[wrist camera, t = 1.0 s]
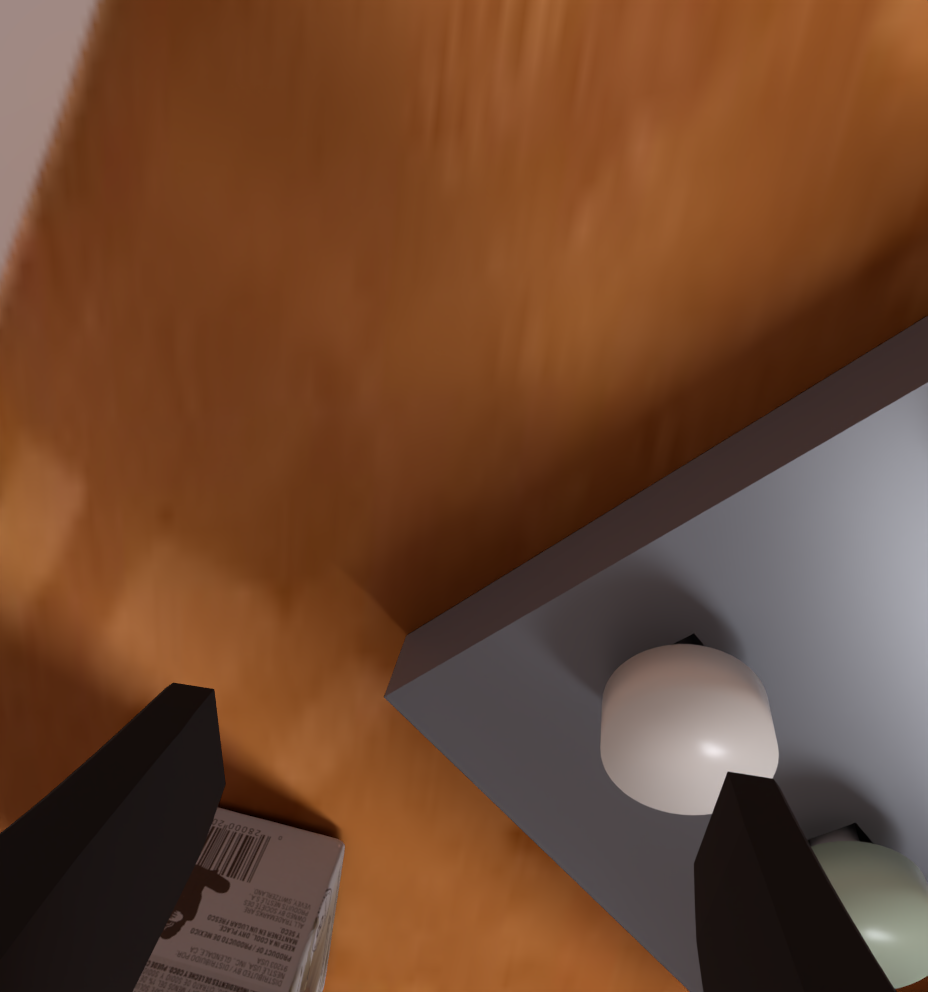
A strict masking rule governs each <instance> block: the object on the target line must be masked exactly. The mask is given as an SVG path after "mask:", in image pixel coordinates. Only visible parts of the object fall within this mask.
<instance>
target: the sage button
mask: <svg viewBox="0 0 928 992" xmlns="http://www.w3.org/2000/svg"><path fill="white" fill-rule="evenodd" d="M809 840H810V845H811V848H812V850H813V852H814V853H815V855H816V857H817V859H818V861H819V862H820V864H821V866H822V868H823V870H824V871H825V873H826V875H827V877H828V879H829V880H830V882H831V884H832V886H833V888H834V889H835V891H836V893H837V895H838V896H839V898H840V900H841V902H842V903H843V905H844V907H845V908H846V910H847V912H848V913H849V915H850V917H851V918H852V920H853V922H854V923H855V925H856V927H857V928H858V930H859V932H860V933H861V935H862V937H863V938H864V940H865V942H866V943H867V945H868V947H869V948H870V950H871V952H872V953H873V955H874V957H875V958H876V960H877V962H878V963H879V965H880V966H881V968H882V970H883V971H884V973H885V974H886V976H887V977H888V979H889V981H890V982H891V984H892V985H893V987H894V989H897V988H901V987H904V986H907V985H910V984H913V983H915V982H917V981H919V980H921V979H923V978H925V977H926V976H928V884H927V882H926V879H925V877H924V875H923V873H922V872H921V870H920V869H919V867H918V866H917V865H916V864H915V863H914V862H912V861H911V860H910V859H908V858H907V857H906V856H904V855H902V854H901V853H899V852H897V851H894V850H892V849H890V848H887V847H884V846H881V845H877V844H872V843H867V842H860V841H859V837H858V834H857V831H856V827H855V824H854V823H853V824H851V825H848V826H845V827H842V828H840V829H837V830H834V831H831V832H828V833H826V834H823V835H820V836H817V837H815V838H812V839H809Z"/></svg>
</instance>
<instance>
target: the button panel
mask: <svg viewBox="0 0 928 992" xmlns="http://www.w3.org/2000/svg"><path fill="white" fill-rule="evenodd" d="M692 634H695V635H696V636H697V637H698V639H699V640H700V641H701V642H702V643H703V644H704V646H706V647H710V648H714V649H717V650H720V651H723V652H725V653H727V654H729V655H732V656H733V657H735V658H737V659H738V660H740V661H742V662H743V663H744V664H745V665H747V666H748V667H749V668H750V669H751V670H752V671H753V672H754V673H755V674H756V675H757V677H758V678H759V679H760V681H761V682H762V684H763V686H764V688H765V690H766V694H767V697H768V701H769V706H770V711H771V716H772V720H773V725H774V730H775V734H776V739H777V744H778V751H779V759H778V765H777V769H776V772H775V774H774V776H773V778H772V779H774V780H775V781H776V783H777V784H778V785H779V787H780V788H781V790H782V792H783V794H784V796H785V798H786V800H787V802H788V804H789V806H790V808H791V810H792V812H793V814H794V816H795V818H796V820H797V821H798V823H799V825H800V827H801V829H802V831H803V833H804V835H805V837H806V838H807V840H808V842H809V844H810V840H809V839H812V838H815V837H817V836H820V835H823V834H826V833H828V832H831V831H834V830H837V829H840V828H842V827H845V826H848V825H851V824H853V823H854V824H855V827H856V831H857V834H858V837H859V841H860V842H867V843H872V844H877V845H881V846H884V847H887V848H890V849H892V850H894V851H897V852H899V853H901V854H902V855H904V856H906V857H907V858H908V859H910V860H911V861H912V862H914V863H915V864H916V865H917V866H918V867H919V869H920V870H921V872H922V873H923V875H924V877H925V879H926V882H927V884H928V316H927V317H925V318H923V319H922V320H920V321H918V322H917V323H915V324H913V325H912V326H910V327H909V328H907V329H905V330H904V331H902V332H900V333H899V334H897V335H896V336H894V337H892V338H891V339H889V340H887V341H886V342H884V343H883V344H881V345H879V346H878V347H876V348H874V349H873V350H871V351H869V352H868V353H866V354H865V355H863V356H861V357H860V358H858V359H856V360H855V361H853V362H852V363H850V364H848V365H847V366H845V367H843V368H842V369H840V370H839V371H837V372H835V373H834V374H832V375H830V376H829V377H827V378H825V379H824V380H822V381H821V382H819V383H817V384H816V385H814V386H812V387H811V388H809V389H808V390H806V391H804V392H803V393H801V394H799V395H798V396H796V397H795V398H793V399H791V400H790V401H788V402H786V403H785V404H783V405H782V406H780V407H778V408H777V409H775V410H773V411H772V412H770V413H768V414H767V415H765V416H764V417H762V418H760V419H759V420H757V421H755V422H754V423H752V424H751V425H749V426H747V427H746V428H744V429H742V430H741V431H739V432H738V433H736V434H734V435H733V436H731V437H729V438H728V439H726V440H724V441H723V442H721V443H720V444H718V445H716V446H715V447H713V448H711V449H710V450H708V451H707V452H705V453H703V454H702V455H700V456H698V457H697V458H695V459H694V460H692V461H690V462H689V463H687V464H685V465H684V466H682V467H680V468H679V469H677V470H676V471H674V472H672V473H671V474H669V475H667V476H666V477H664V478H663V479H661V480H659V481H658V482H656V483H654V484H653V485H651V486H650V487H648V488H646V489H645V490H643V491H641V492H640V493H638V494H636V495H635V496H633V497H632V498H630V499H628V500H627V501H625V502H623V503H622V504H620V505H619V506H617V507H615V508H614V509H612V510H610V511H609V512H607V513H606V514H604V515H602V516H601V517H599V518H597V519H596V520H594V521H592V522H591V523H589V524H588V525H586V526H584V527H583V528H581V529H579V530H578V531H576V532H575V533H573V534H571V535H570V536H568V537H566V538H565V539H563V540H562V541H560V542H558V543H557V544H555V545H553V546H552V547H550V548H548V549H547V550H545V551H544V552H542V553H540V554H539V555H537V556H535V557H534V558H532V559H531V560H529V561H527V562H526V563H524V564H522V565H521V566H519V567H518V568H516V569H514V570H513V571H511V572H509V573H508V574H506V575H505V576H503V577H501V578H500V579H498V580H496V581H495V582H493V583H491V584H490V585H488V586H487V587H485V588H483V589H482V590H480V591H478V592H477V593H475V594H474V595H472V596H470V597H469V598H467V599H465V600H464V601H462V602H461V603H459V604H457V605H456V606H454V607H452V608H451V609H449V610H447V611H446V612H444V613H443V614H441V615H439V616H438V617H436V618H434V619H433V620H431V621H430V622H428V623H426V624H425V625H423V626H421V627H420V628H418V629H417V630H415V631H413V632H412V633H410V634H408V635H407V636H406V638H405V641H404V644H403V646H402V649H401V652H400V654H399V657H398V660H397V663H396V665H395V668H394V671H393V674H392V676H391V679H390V682H389V685H388V687H387V690H386V693H385V696H384V698H385V699H386V700H388V701H389V702H390V703H391V704H392V705H393V706H394V707H395V708H396V709H397V710H398V711H399V712H400V713H401V714H402V715H403V716H404V717H405V718H406V719H407V720H408V721H409V722H410V723H411V724H412V725H413V726H415V727H416V728H417V729H418V730H419V731H420V732H421V733H422V734H423V735H424V736H425V737H426V738H427V739H428V740H429V741H430V742H431V743H432V744H433V745H434V746H435V747H436V748H437V749H438V750H439V751H441V752H442V753H443V754H444V755H445V756H446V757H447V758H448V759H449V760H450V761H451V762H452V763H453V764H454V765H455V766H456V767H457V768H458V769H459V770H460V771H461V772H462V773H463V774H464V775H465V776H467V777H468V778H469V779H470V780H471V781H472V782H473V783H474V784H475V785H476V786H477V787H478V788H479V789H480V790H481V791H482V792H483V793H484V794H485V795H486V796H487V797H488V798H489V799H490V800H491V801H492V802H494V803H495V804H496V805H497V806H498V807H499V808H500V809H501V810H502V811H503V812H504V813H505V814H506V815H507V816H508V817H509V818H510V819H511V820H512V821H513V822H514V823H515V824H516V825H517V826H518V827H520V828H521V829H522V830H523V831H524V832H525V833H526V834H527V835H528V836H529V837H530V838H531V839H532V840H533V841H534V842H535V843H536V844H537V845H538V846H539V847H540V848H541V849H542V850H543V851H544V852H546V853H547V854H548V855H549V856H550V857H551V858H552V859H553V860H554V861H555V862H556V863H557V864H558V865H559V866H560V867H561V868H562V869H563V870H564V871H565V872H566V873H567V874H568V875H569V876H570V877H571V878H573V879H574V880H575V881H576V882H577V883H578V884H579V885H580V886H581V887H582V888H583V889H584V890H585V891H586V892H587V893H588V894H589V895H590V896H591V897H592V898H593V899H594V900H595V901H596V902H597V903H599V904H600V905H601V906H602V907H603V908H604V909H605V910H606V911H607V912H608V913H609V914H610V915H611V916H612V917H613V918H614V919H615V920H616V921H617V922H618V923H619V924H620V925H621V926H622V927H623V928H625V929H626V930H627V931H628V932H629V933H630V934H631V935H632V936H633V937H634V938H635V939H636V940H637V941H638V942H639V943H640V944H641V945H642V946H643V947H644V948H645V949H646V950H647V951H648V952H649V953H650V954H652V955H653V956H654V957H655V958H656V959H657V960H658V961H659V962H660V963H661V964H662V965H663V966H664V967H665V968H666V969H667V970H668V971H669V972H670V973H671V974H672V975H673V976H674V977H675V978H676V979H678V980H679V981H680V982H681V983H682V984H683V985H684V986H685V987H686V988H687V989H688V990H689V991H690V992H703V986H702V979H701V972H700V965H699V958H698V950H697V943H696V922H695V894H694V861H695V859H696V856H697V853H698V851H699V848H700V845H701V842H702V840H703V837H704V834H705V832H706V829H707V826H708V823H709V821H710V818H711V815H712V814H707V815H680V814H673V813H668V812H664V811H660V810H657V809H654V808H651V807H648V806H646V805H644V804H641V803H639V802H638V801H636V800H634V799H632V798H631V797H629V796H628V795H627V794H625V793H624V792H623V791H622V790H621V789H619V788H618V787H617V786H616V785H615V783H614V782H613V781H612V780H611V779H610V777H609V775H608V774H607V772H606V770H605V768H604V765H603V763H602V759H601V750H600V743H601V716H602V698H603V692H604V689H605V686H606V684H607V682H608V680H609V678H610V677H611V675H612V674H613V673H614V671H615V670H616V669H617V668H618V667H619V666H620V665H622V664H623V663H624V662H625V661H627V660H628V659H630V658H631V657H633V656H635V655H637V654H639V653H641V652H643V651H646V650H649V649H652V648H655V647H660V646H665V645H672V644H674V643H676V642H678V641H680V640H682V639H684V638H686V637H688V636H690V635H692ZM810 846H811V845H810Z"/></svg>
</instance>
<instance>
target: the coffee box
mask: <svg viewBox="0 0 928 992" xmlns="http://www.w3.org/2000/svg"><path fill="white" fill-rule="evenodd" d="M344 849H345V845H344V843H343V842H342V841H341V840H339V839H336V838H333V837H329V836H325V835H321V834H318V833H314V832H310V831H306V830H302V829H299V828H295V827H291V826H287V825H284V824H280V823H276V822H272V821H268V820H264V819H260V818H256V817H252V816H248V815H245V814H241V813H237V812H233V811H230V810H226V809H222V808H217V810H216V813H215V816H214V819H213V822H212V825H211V827H210V830H209V833H208V835H207V838H206V841H205V843H204V846H203V849H202V851H201V854H200V856H199V858H198V860H197V862H196V864H195V867H194V869H193V871H192V873H191V875H190V877H189V879H188V881H187V883H186V885H185V887H184V889H183V891H182V893H181V895H180V897H179V899H178V901H177V903H176V905H175V908H174V910H173V912H172V914H171V916H170V918H169V920H168V922H167V924H166V926H165V928H164V930H163V932H162V934H161V936H160V938H159V940H158V942H157V944H156V946H155V948H154V950H153V952H152V954H151V956H150V958H149V960H148V962H147V964H146V966H145V968H144V970H143V972H142V974H141V976H140V978H139V980H138V982H137V984H136V986H135V988H134V990H133V992H322V991H323V988H324V984H325V977H326V971H327V964H328V958H329V951H330V944H331V936H332V929H333V923H334V916H335V910H336V903H337V897H338V890H339V884H340V877H341V870H342V863H343V857H344Z"/></svg>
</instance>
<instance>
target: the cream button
mask: <svg viewBox="0 0 928 992" xmlns="http://www.w3.org/2000/svg"><path fill="white" fill-rule="evenodd" d="M600 750H601V759H602V763H603V765H604V768H605V770H606V772H607V774H608V775H609V777H610V779H611V780H612V781H613V782H614V783H615V785H616V786H617V787H618V788H619V789H621V790H622V791H623V792H624V793H625V794H627V795H628V796H629V797H631V798H632V799H634V800H636V801H638V802H639V803H641V804H644V805H646V806H648V807H651V808H654V809H657V810H660V811H664V812H668V813H673V814H680V815H707V814H712V813H713V810H714V807H715V804H716V802H717V799H718V796H719V794H720V791H721V788H722V785H723V783H724V780H725V777H726V775H727V772H734V773H741V774H747V775H753V776H759V777H766V778H773V776H774V774H775V772H776V769H777V765H778V759H779V751H778V744H777V739H776V734H775V730H774V725H773V720H772V716H771V711H770V706H769V701H768V697H767V694H766V690H765V688H764V686H763V684H762V682H761V681H760V679H759V678H758V677H757V675H756V674H755V673H754V672H753V671H752V670H751V669H750V668H749V667H748V666H747V665H745V664H744V663H743V662H742V661H740V660H738V659H737V658H735V657H733V656H732V655H729V654H727V653H725V652H723V651H720V650H717V649H714V648H710V647H706V646H704V644H703V643H702V642H701V641H700V640H699V639H698V637H697V636H696V635H695V634H692V635H690V636H688V637H686V638H684V639H682V640H680V641H678V642H676V643H674V644H672V645H665V646H660V647H655V648H652V649H649V650H646V651H643V652H641V653H639V654H637V655H635V656H633V657H631V658H630V659H628V660H627V661H625V662H624V663H623V664H622V665H620V666H619V667H618V668H617V669H616V670H615V671H614V673H613V674H612V675H611V677H610V678H609V680H608V682H607V684H606V686H605V689H604V692H603V698H602V716H601V743H600Z"/></svg>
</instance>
